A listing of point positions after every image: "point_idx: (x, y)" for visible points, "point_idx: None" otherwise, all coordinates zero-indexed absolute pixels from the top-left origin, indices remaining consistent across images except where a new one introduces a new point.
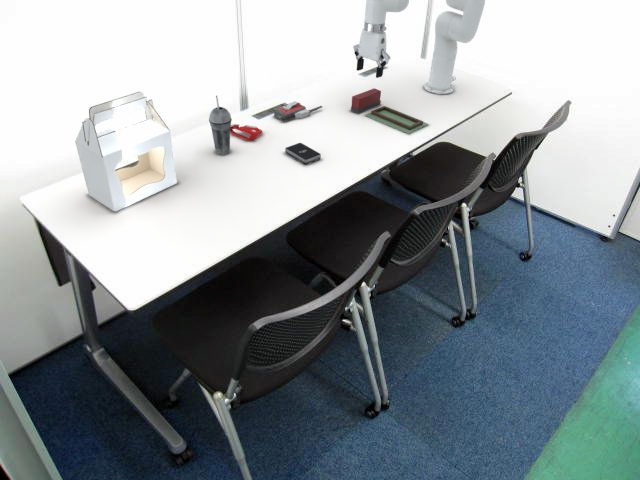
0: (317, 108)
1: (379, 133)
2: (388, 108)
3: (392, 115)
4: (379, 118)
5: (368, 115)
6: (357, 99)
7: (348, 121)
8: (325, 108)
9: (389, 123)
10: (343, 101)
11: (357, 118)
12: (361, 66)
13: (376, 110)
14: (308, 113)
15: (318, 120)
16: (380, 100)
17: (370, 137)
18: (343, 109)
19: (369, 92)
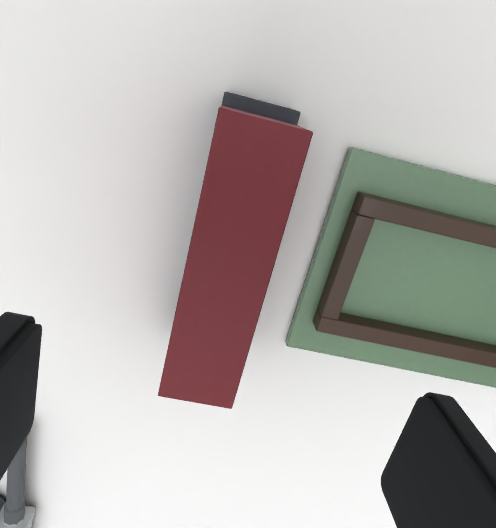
0: (21, 467)
1: None
2: (409, 224)
3: (447, 260)
4: (384, 345)
5: (308, 347)
6: (216, 401)
7: (237, 443)
8: None
9: (460, 369)
10: (35, 225)
11: (260, 390)
12: (11, 399)
13: (343, 302)
14: (29, 525)
15: (106, 509)
16: (296, 114)
17: None
18: (121, 336)
19: (233, 242)
